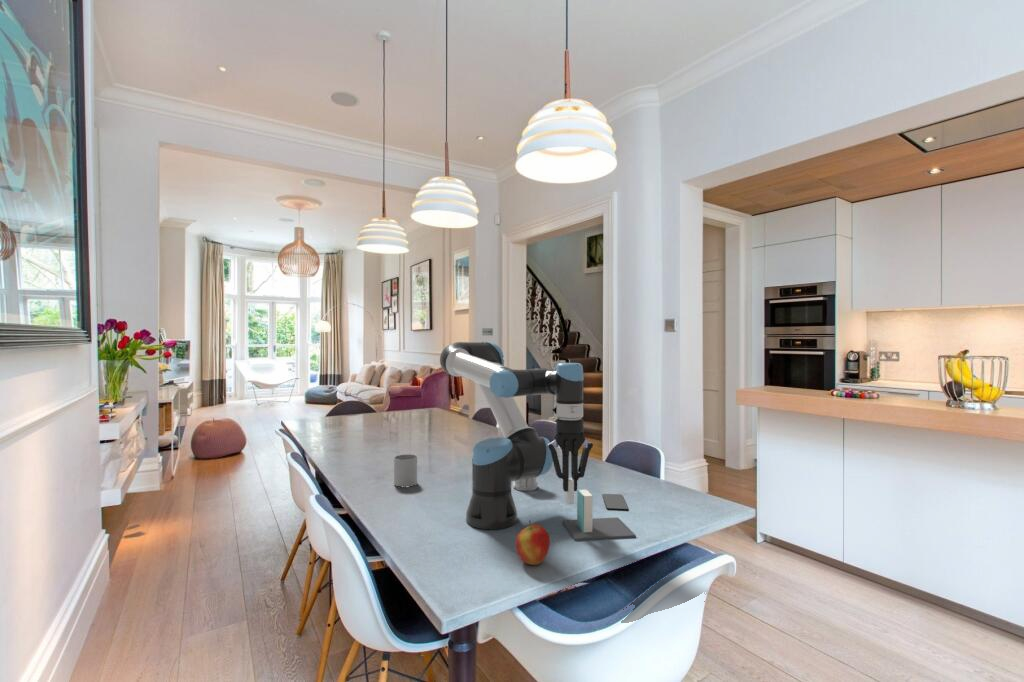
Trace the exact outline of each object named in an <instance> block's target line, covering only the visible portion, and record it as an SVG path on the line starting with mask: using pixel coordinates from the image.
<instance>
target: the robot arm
mask: <svg viewBox="0 0 1024 682" xmlns="http://www.w3.org/2000/svg"><path fill="white" fill-rule="evenodd" d="M504 357H505V356H504V353H503V350H502V349H501V347H500V346H499V344H496V343H495V342H488V341H482V342H476V341H475V342H473V341H471V342H469V341H466V342H465V341H464V342H463V341H457V342H452V343H450V344H448V345H446V346H445V347H444V349H442V351H441V352H440V357H439V365H440V367H441V368H442V369H441V370H443V371H444V372H445V373H446V374H447V375H450V376H453V377H463V378H465V379H468V380H470V381H473V383H475V384H476V385H479V386H480V389H481V390H482V393H483V395H484V397H485V399H486V401H487V404H488V406H489V408H490V411H491V412H492V415H493V416H494V419H495V421H496V424H497V425H498V427H499V429H500V431H501V433H502V436H503V437H491V438H486V439H483V440H480V441H478V442H477V443H475V445H474V447H473V449H472V454H471V455H472V456H471V457H472V458H471V462H472V467H471V468H472V471H471V474H472V475H471V476H472V479H471V480H472V484H471V485H472V487H471V488H472V492H471V497H470V501H469V504H468V506H467V509H466V512H465V513H466V514H465V518H466V519H465V521H466V523H467V524H468V525H469V526H471V527H473V528H475V529H476V528H477V529H480V530H481V529H482V530H500V529H505V528H510V527H511V526H514V525H515V524H516V523H517V522H518V511H517V507H516V504H515V500H514V498H513V494H512V482H515V481H516V480H521V479H526V478H531V477H536V478H538V477H540V476H543V475H546V474H547V473H548V472H549V471H550V470H551V469H552V466H554V471H555V474H556V476H557V477H558V478H559V479H561V480H562V489H563V492H565V495H566V503H567V504H568V505H575V492H577V490H578V481H579V479H580V478H583V477H585V473H586V469H587V463H588V459H589V454H590V451H591V450H592V448H593V446H594V444H593V443H592V442H591V441H588V440H587V439H586V437H585V435H584V419H583V417H584V380H585V377H584V368H583V367H584V366H583V365H582V364H581V363H579V362H559V363H557V364H556V369H555V368H546V367H539V368H531V369H512V368H511V367H506V366H504V365H505V359H504ZM537 395H552V396H556V399H555V400H556V402H555V403H556V411H555V413H556V417H557V419H556V433H555V436H554V440H552V441H551V442H550V440H549V439H548V438H546V437H544V436H539V435H538V433H537V430H536V429H535V428H534V427H531V426H528V423H527V422H526V420H525V417H524V416H523V414H522V412H521V410H520V408H519V406H518V404H517V401H516V400H515V397H523V396H524V397H525V396H537ZM557 445H558V447H559V448H560V450H561V454H562V455H561V456H562V458H561V460H562V461H561V463H562V466H561V464H560V461H559V460H560V459H559V456H558V452H557V449H558V448H557ZM581 447H583V449H582V451H581V455H580V459H579V460H578V458H579V457H578V456H579V450H580V449H581ZM570 456H571V457H570ZM570 459H571V460H570ZM570 461H571V462H570ZM578 461H579V464H578ZM569 462H570V463H571V467H570V465H569V464H570V463H569ZM561 467H562V468H561ZM570 468H571V469H570ZM569 471H571V472H570V473H571V474H570V475H571V476H570V475H569ZM569 476H570V477H569Z"/></svg>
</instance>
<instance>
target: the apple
mask: <svg viewBox="0 0 1024 682" xmlns="http://www.w3.org/2000/svg"><path fill="white" fill-rule="evenodd" d="M528 522H529V525H528V526H527V527H524V528H523V529H521V530H520V531H519V532H518V534H517V535H516V539H515V545H516V546H515V547H516V551H517V554H518V556H519V557H520V559H521V560H522V561H523V562H524V563H525V564H527V565H530V566H536V565H539V564H541V563H542V562H543V561H544V560H545V559H546V557H547V555H548V553H549V550H550V543H551V538H550V535H549V533H548V531H547V530H546V529H545V528H544V527H543V526H542V525H540V524H536V523H535V524H532V523H531V519H530V520H528Z"/></svg>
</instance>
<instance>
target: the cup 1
mask: <svg viewBox="0 0 1024 682" xmlns="http://www.w3.org/2000/svg"><path fill="white" fill-rule="evenodd" d="M415 484H416V485H418V455H415V454H409V453H407V454H398V455H396V456H394V457H393V486H394V485H396V486H401V487H402V486H403V487H406V486H412V487H414V486H413V485H415ZM416 485H415V486H416ZM396 486H395V487H396ZM406 488H407V487H406Z"/></svg>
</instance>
